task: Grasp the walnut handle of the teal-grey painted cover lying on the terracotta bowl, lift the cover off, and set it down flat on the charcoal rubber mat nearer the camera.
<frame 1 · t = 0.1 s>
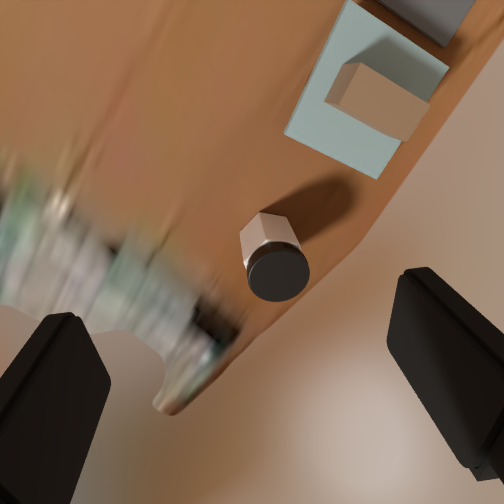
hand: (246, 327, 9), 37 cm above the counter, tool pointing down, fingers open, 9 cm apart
jar: (266, 235, 49), on the counter
cover: (361, 101, 36), point 5 cm above the counter, touching bowl
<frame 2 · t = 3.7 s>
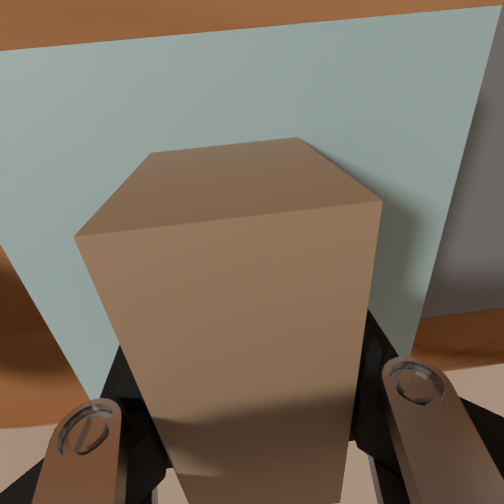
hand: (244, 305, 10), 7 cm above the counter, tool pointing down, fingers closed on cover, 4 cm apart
cover: (239, 264, 11), point 5 cm above the counter, touching bowl, gripper
when the fingers open (4 cm above the counter, at t = 10.3 s): cover drops 1 cm, resting on mat.
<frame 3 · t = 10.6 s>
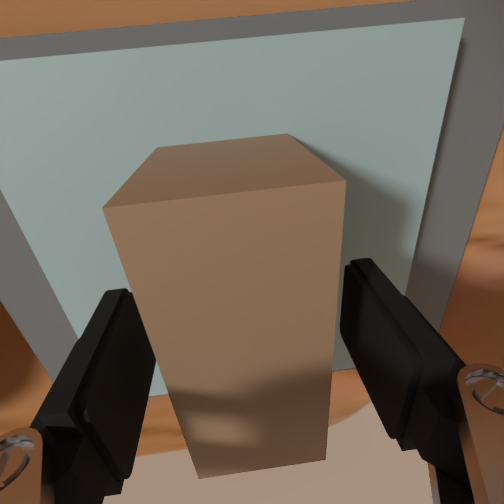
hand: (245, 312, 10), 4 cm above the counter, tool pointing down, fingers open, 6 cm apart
mat: (238, 251, 13), on the counter
cover: (237, 250, 12), point 1 cm above the counter, touching mat
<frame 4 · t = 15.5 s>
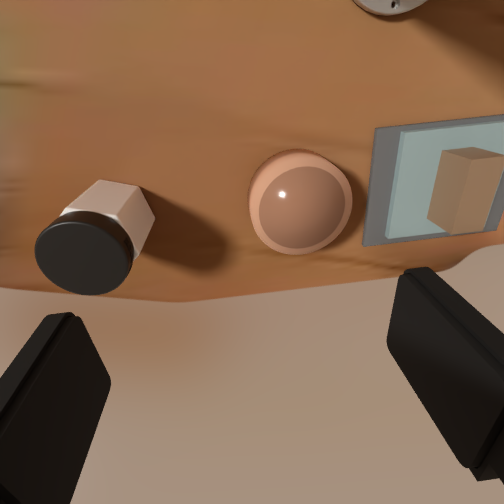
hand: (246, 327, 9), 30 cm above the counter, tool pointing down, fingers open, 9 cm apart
mat: (440, 183, 40), on the counter
jar: (119, 211, 38), on the counter
cover: (443, 182, 40), point 1 cm above the counter, touching mat
bowl: (293, 196, 40), on the counter
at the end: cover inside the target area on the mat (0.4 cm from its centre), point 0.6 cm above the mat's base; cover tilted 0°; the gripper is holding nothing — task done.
